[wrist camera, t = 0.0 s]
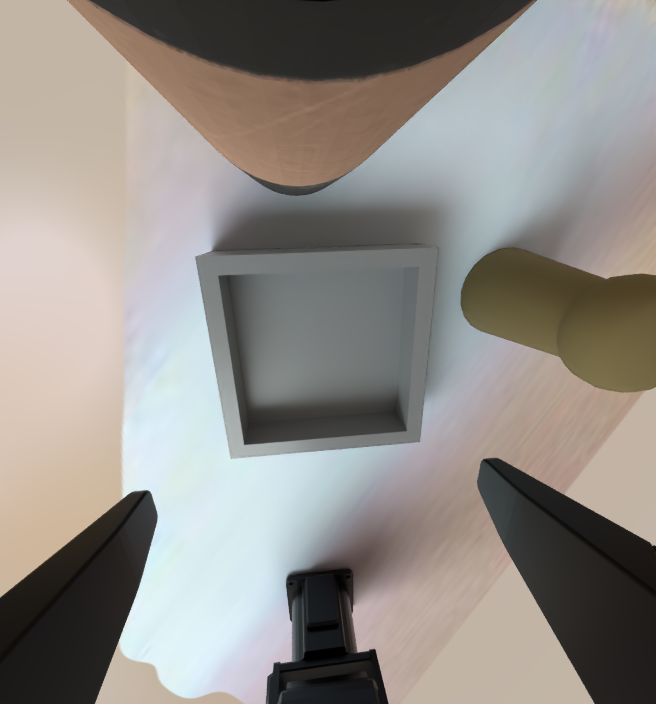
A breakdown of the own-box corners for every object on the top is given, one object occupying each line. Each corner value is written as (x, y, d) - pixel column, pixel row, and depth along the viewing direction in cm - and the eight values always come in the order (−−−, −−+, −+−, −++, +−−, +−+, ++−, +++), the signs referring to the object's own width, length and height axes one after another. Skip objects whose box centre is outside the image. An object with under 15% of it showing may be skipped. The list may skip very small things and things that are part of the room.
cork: (529, 333, 24) (699, 413, 14) (453, 332, 24) (573, 415, 14) (554, 249, 22) (775, 272, 12) (470, 245, 21) (629, 267, 11)
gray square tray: (404, 414, 26) (419, 441, 23) (238, 427, 25) (230, 458, 22) (416, 243, 21) (438, 247, 18) (211, 251, 20) (195, 256, 17)
